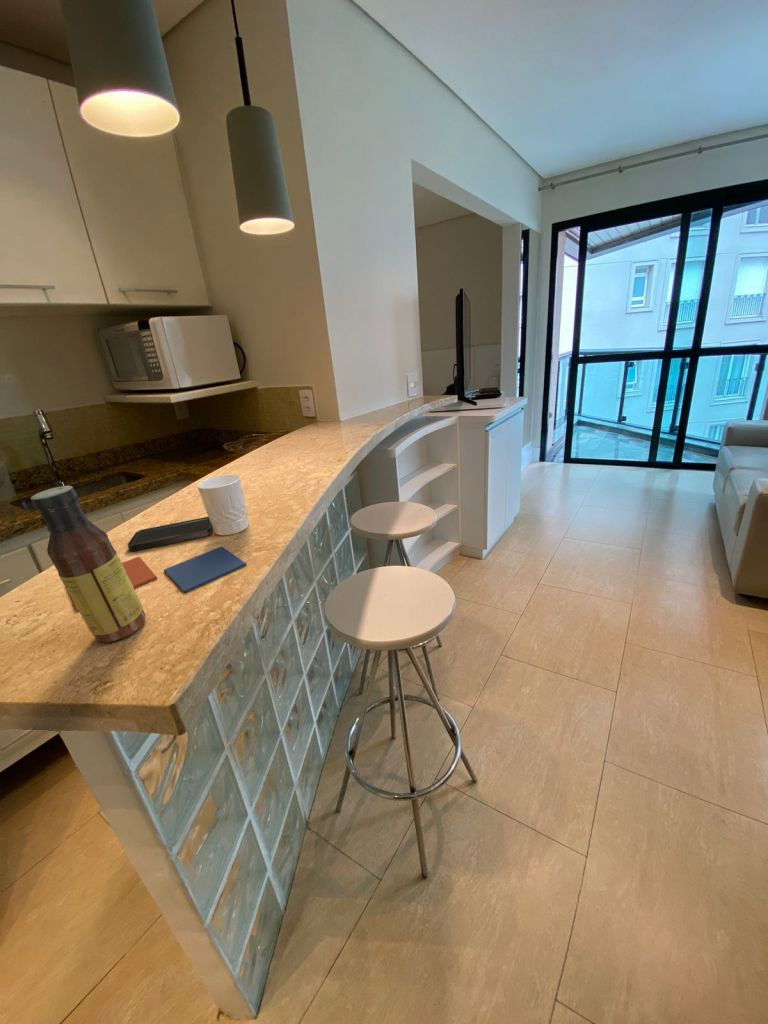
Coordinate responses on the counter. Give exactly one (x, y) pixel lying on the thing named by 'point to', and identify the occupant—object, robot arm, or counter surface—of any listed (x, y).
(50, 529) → the sauce bottle
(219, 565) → the slate-blue mat
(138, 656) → the counter surface
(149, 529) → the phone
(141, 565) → the terracotta mat
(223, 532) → the white cup
